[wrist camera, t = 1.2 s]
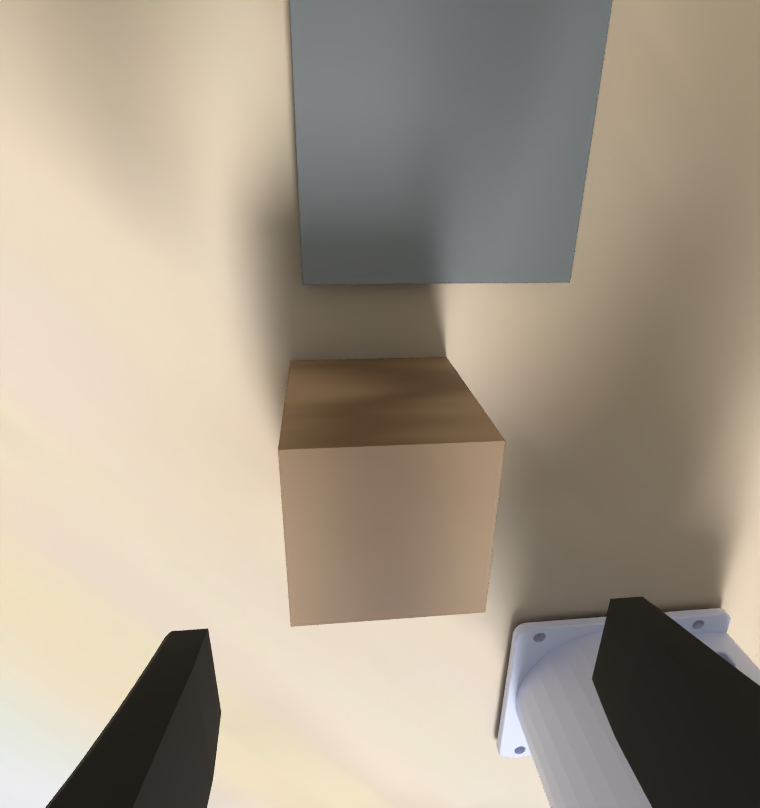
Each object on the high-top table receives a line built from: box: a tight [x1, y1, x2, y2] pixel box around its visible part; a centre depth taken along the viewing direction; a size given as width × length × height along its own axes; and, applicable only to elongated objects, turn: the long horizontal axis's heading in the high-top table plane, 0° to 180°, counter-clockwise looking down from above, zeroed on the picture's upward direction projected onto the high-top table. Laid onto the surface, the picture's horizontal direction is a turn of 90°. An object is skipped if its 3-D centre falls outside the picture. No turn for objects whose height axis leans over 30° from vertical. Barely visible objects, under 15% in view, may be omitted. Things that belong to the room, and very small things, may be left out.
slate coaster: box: [290, 0, 612, 285], centre depth 14 cm, size 8×8×1 cm
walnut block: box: [278, 357, 505, 627], centre depth 15 cm, size 5×5×6 cm
